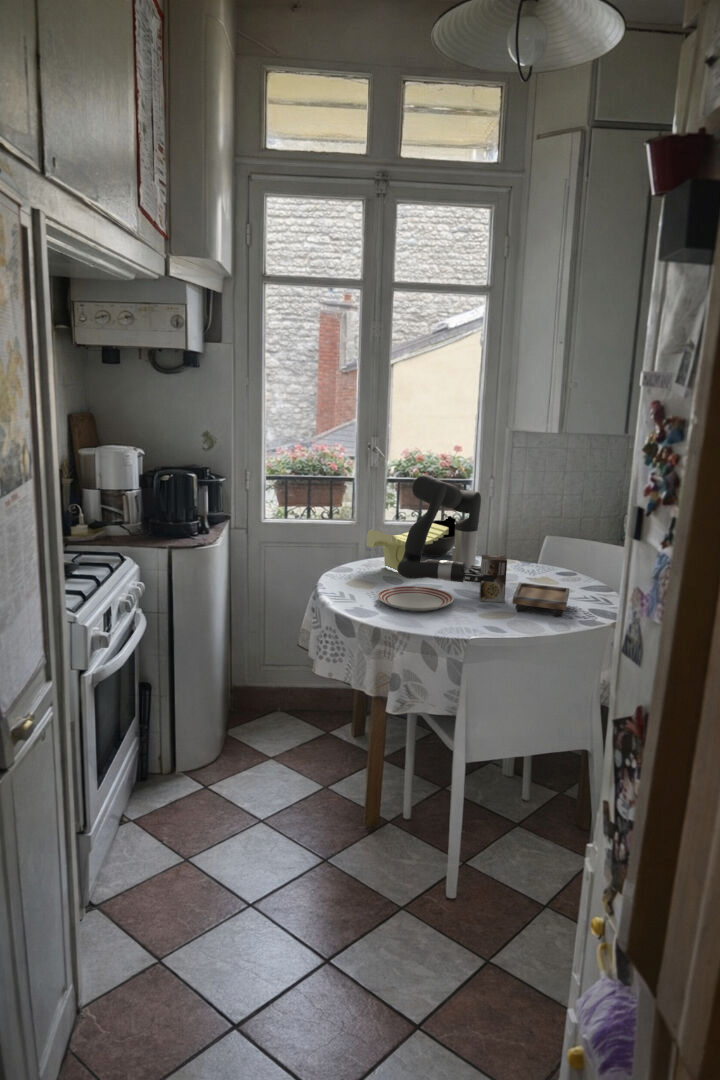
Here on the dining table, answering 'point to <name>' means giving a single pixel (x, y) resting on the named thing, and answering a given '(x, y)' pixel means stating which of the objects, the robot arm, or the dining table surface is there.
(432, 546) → the coal bowl
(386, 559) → the slatted curved stool
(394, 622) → the dining table surface
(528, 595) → the caster dolly
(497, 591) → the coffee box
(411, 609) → the dinner plate
